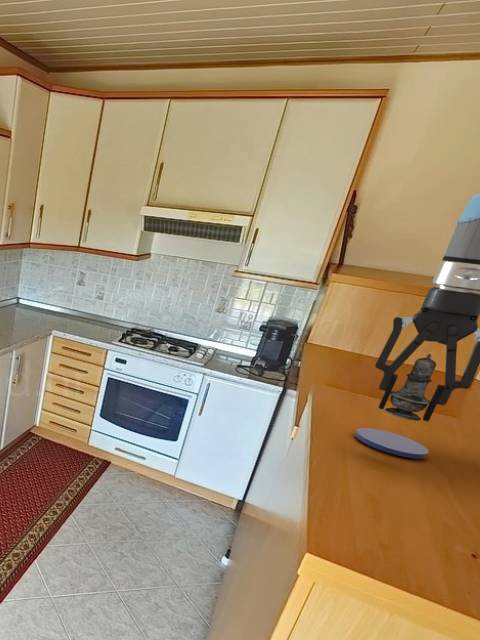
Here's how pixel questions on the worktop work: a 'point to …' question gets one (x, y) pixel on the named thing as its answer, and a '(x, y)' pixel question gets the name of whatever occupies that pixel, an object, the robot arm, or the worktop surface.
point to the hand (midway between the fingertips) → (403, 412)
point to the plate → (392, 443)
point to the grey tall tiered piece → (413, 391)
